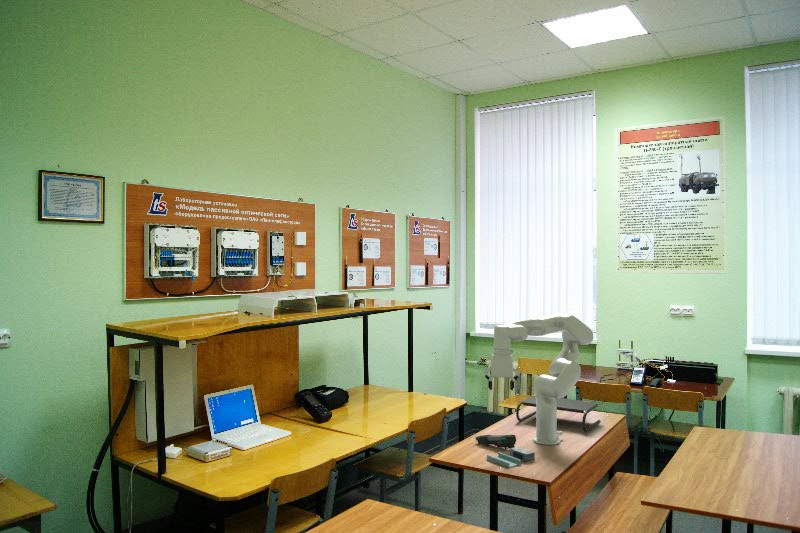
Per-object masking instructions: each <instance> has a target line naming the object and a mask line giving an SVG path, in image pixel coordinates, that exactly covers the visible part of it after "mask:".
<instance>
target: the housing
mask: <svg viewBox="0 0 800 533" xmlns="http://www.w3.org/2000/svg"><path fill="white" fill-rule="evenodd" d="M535 453H536V452H535V451H531V450H529V449H526V448H523V447H520V446H515V447H514V448H510V449H509V456H511V457H514V458H517V459H519V460H521V462H524V463H530V462H531V463H532V462H534V461H535V460H536V454H535Z"/></svg>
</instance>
